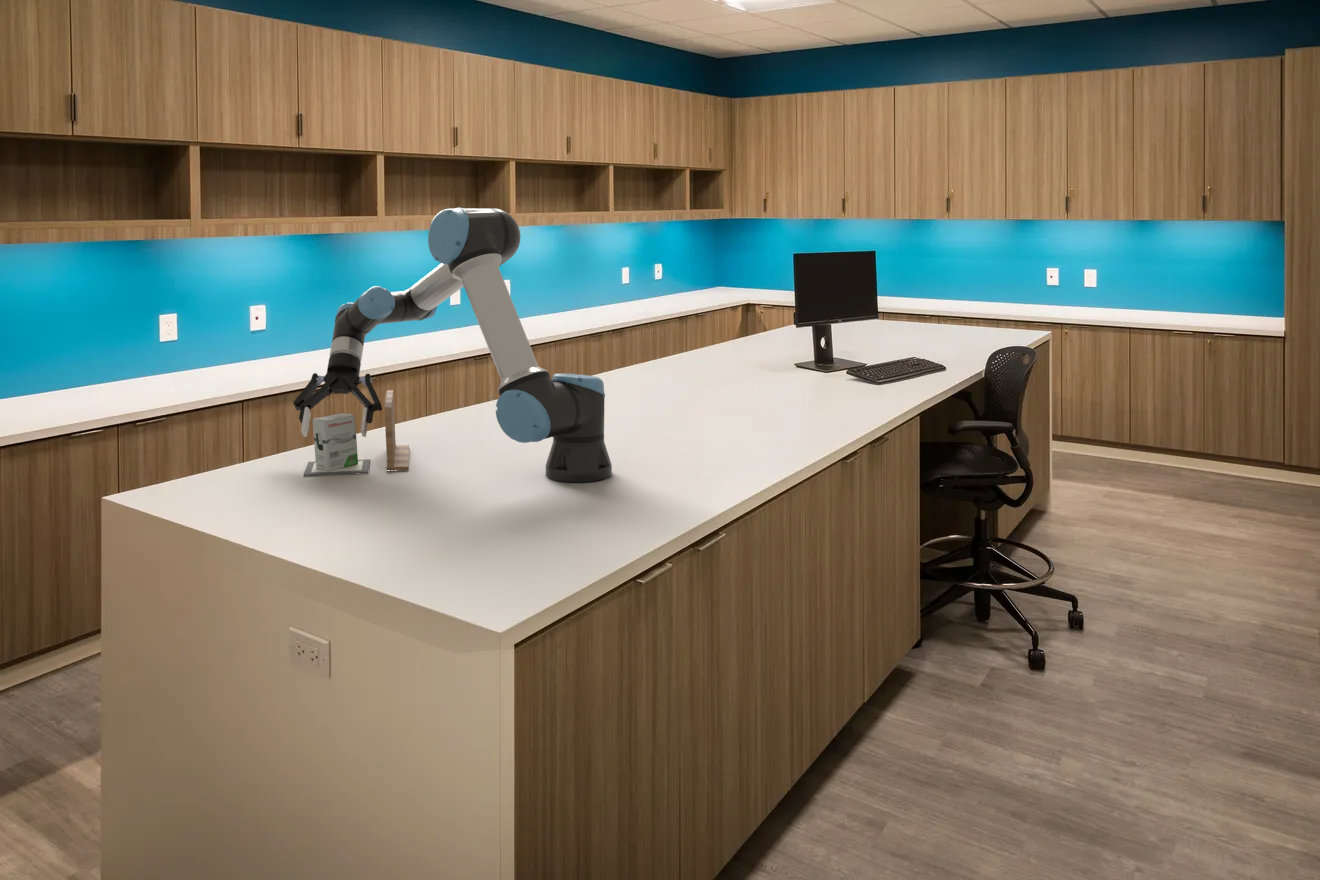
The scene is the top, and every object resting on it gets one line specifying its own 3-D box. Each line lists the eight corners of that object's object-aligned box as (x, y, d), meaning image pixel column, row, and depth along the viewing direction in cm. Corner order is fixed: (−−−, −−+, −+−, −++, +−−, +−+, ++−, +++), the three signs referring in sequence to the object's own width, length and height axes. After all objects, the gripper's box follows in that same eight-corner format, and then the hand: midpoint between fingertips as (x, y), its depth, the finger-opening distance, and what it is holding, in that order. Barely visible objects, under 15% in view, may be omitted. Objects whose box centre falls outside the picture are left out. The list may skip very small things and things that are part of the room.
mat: (368, 473, 237) (367, 471, 237) (303, 476, 234) (303, 474, 233) (370, 460, 248) (370, 458, 248) (308, 463, 245) (308, 461, 245)
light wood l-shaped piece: (408, 470, 240) (406, 406, 236) (386, 471, 238) (383, 407, 235) (409, 448, 260) (406, 389, 257) (388, 449, 259) (385, 390, 256)
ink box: (345, 461, 246) (343, 411, 243) (359, 464, 243) (356, 414, 240) (314, 468, 239) (311, 417, 236) (327, 471, 236) (324, 420, 233)
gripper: (399, 369, 258) (390, 442, 247) (296, 368, 256) (283, 442, 245) (394, 351, 251) (385, 425, 240) (289, 350, 250) (274, 424, 239)
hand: (333, 433), depth 243 cm, fingers open, 13 cm apart
